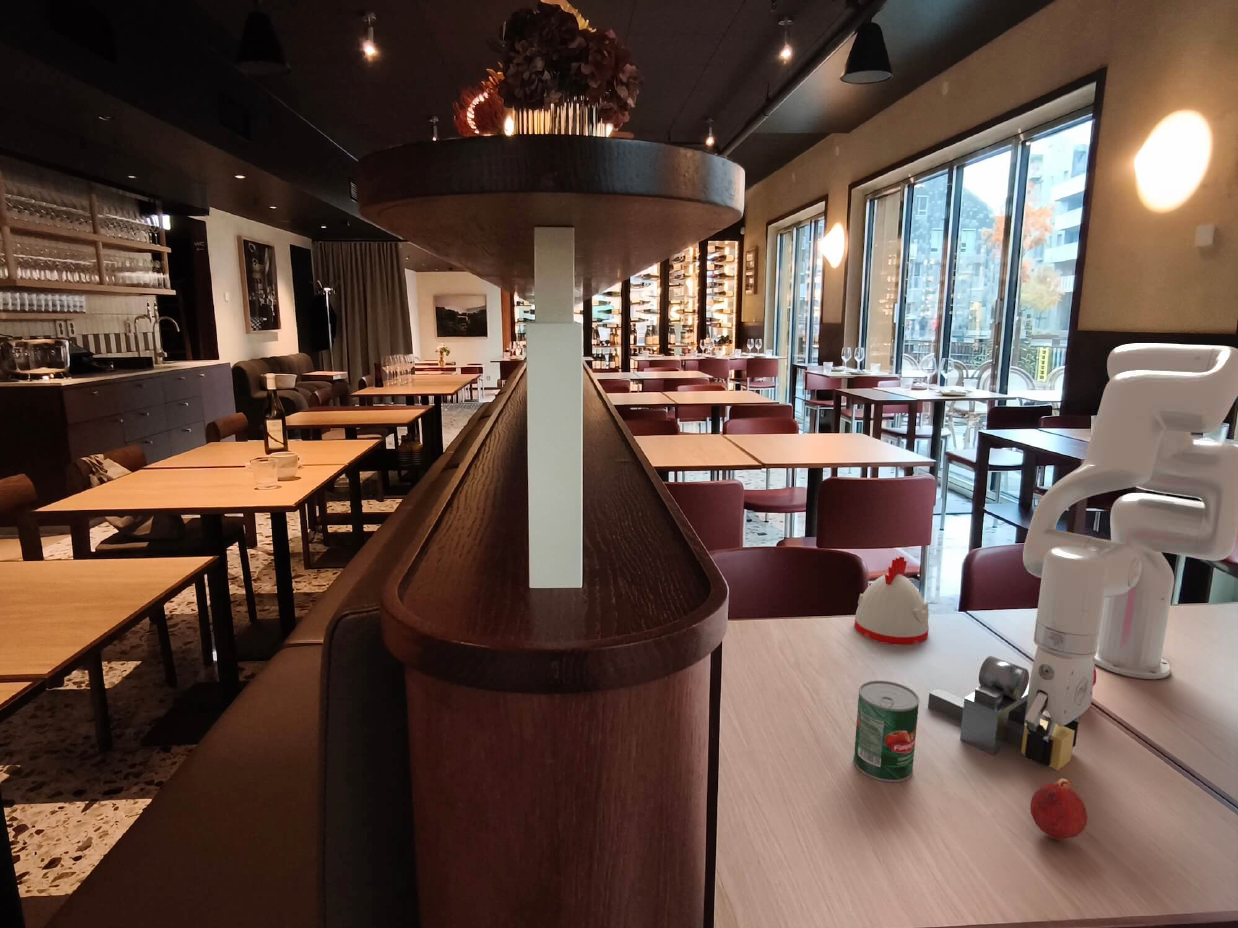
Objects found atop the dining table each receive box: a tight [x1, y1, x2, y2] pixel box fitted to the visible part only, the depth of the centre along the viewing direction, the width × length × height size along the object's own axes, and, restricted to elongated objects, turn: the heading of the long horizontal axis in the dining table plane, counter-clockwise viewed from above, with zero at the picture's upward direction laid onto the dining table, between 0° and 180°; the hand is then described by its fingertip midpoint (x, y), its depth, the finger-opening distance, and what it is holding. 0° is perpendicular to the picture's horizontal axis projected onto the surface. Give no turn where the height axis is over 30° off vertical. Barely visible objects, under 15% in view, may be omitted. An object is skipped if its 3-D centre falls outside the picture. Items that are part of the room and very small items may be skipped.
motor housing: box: [959, 655, 1030, 756], centre depth 109 cm, size 12×5×12 cm, turn 126°
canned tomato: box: [853, 679, 920, 783], centre depth 102 cm, size 8×8×11 cm
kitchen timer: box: [854, 556, 930, 646], centre depth 146 cm, size 14×14×15 cm
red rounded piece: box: [1029, 777, 1088, 841], centre depth 88 cm, size 6×6×8 cm
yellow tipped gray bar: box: [927, 688, 1075, 771], centre depth 110 cm, size 4×20×5 cm, turn 37°
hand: (1050, 750), depth 105 cm, fingers open, 7 cm apart
